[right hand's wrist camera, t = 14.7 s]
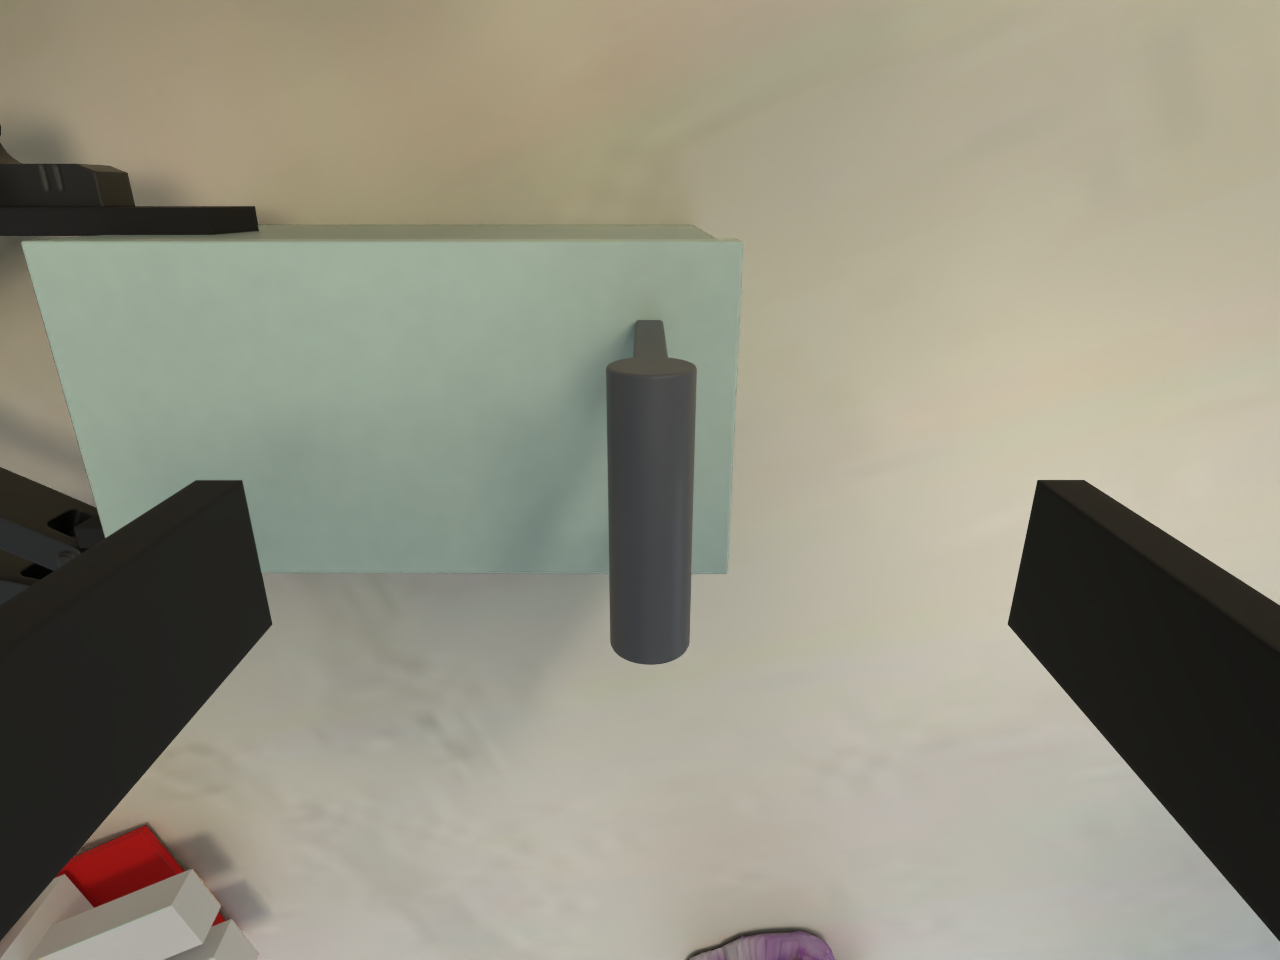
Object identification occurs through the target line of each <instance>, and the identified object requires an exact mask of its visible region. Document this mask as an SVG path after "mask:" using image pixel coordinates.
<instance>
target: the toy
mask: <svg viewBox="0 0 1280 960" xmlns="http://www.w3.org/2000/svg"><path fill="white" fill-rule="evenodd" d="M220 908H221V905H220V903H219V902H218V901H217V899H216V898H215V897H214V896H213V894H212V893H211V892H210V891H209V889H208V888H207V887H206V885H205V884H204V883H203V882H202V880H201V879H200V878H199V877H198V875H197V874H196V873H195V871H194V870H193V869H190V870H187V871H184V870H183V869H182V868H181V867H180V865H179V864H178V863H177V862H176V861H175V859H174V858H173V857H172V856H171V855H170V854H169V852H168V851H167V850H166V849H165V848H164V846H163V845H162V844H161V843H160V842H159V840H158V839H157V838H156V837H155V836H154V834H153V833H152V832H151V831H150V830H149V828H148V827H147V826H146V825H145V826H143V827H140V828H138V829H136V830H134V831H131V832H129V833H127V834H125V835H123V836H120V837H118V838H116V839H114V840H111V841H109V842H107V843H105V844H102V845H100V846H98V847H96V848H93V849H91V850H89V851H87V852H84V853H82V854H80V855H78V856H75V857H73V858H71V859H70V861H69V862H68V863H67V864H66V865H65V866H64V868H63V869H62V870H61V871H60V872H59V873H58V875H57V876H56V877H55V878H54V879H53V880H52V882H51V883H50V884H49V885H48V886H47V887H46V889H45V890H44V891H43V892H42V893H41V894H40V896H39V897H38V898H37V899H36V900H35V901H34V903H33V904H32V905H31V906H30V907H29V908H28V910H27V911H26V912H25V913H24V914H23V915H22V917H21V918H20V919H19V920H18V921H17V922H16V924H15V925H14V926H13V927H12V928H11V929H10V931H9V932H8V933H7V934H6V935H5V936H4V938H3V939H2V940H1V941H0V960H257V958H258V955H259V953H258V952H257V950H256V949H255V948H254V946H253V945H252V944H251V943H250V941H249V940H248V939H247V938H246V936H245V935H244V934H243V933H242V931H241V930H240V929H239V927H238V926H237V925H236V924H235V922H234V921H233V920H232V919H230V920H227V921H226V920H225V919H224V918H223V917H222V915H221V914H220V913H219V910H220Z"/></svg>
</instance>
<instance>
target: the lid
mask: <svg viewBox="0 0 1280 960" xmlns="http://www.w3.org/2000/svg"><path fill="white" fill-rule="evenodd" d="M21 245H22V249H23V252H24V256H25V259H26V263H27V266H28V270H29V273H30V277H31V280H32V284H33V287H34V291H35V294H36V298H37V301H38V305H39V308H40V312H41V315H42V319H43V322H44V326H45V329H46V333H47V336H48V340H49V343H50V347H51V350H52V354H53V357H54V361H55V364H56V368H57V371H58V375H59V378H60V382H61V385H62V389H63V392H64V396H65V399H66V403H67V406H68V410H69V413H70V417H71V420H72V424H73V427H74V431H75V434H76V438H77V441H78V445H79V448H80V451H81V455H82V458H83V462H84V465H85V469H86V472H87V476H88V479H89V483H90V486H91V490H92V493H93V497H94V500H95V504H96V507H97V511H98V514H99V518H100V521H101V525H102V528H103V532H104V535H105V538H106V537H108V536H110V535H111V534H113V533H114V532H116V531H117V530H119V529H120V528H122V527H124V526H125V525H127V524H128V523H130V522H131V521H133V520H135V519H136V518H138V517H139V516H141V515H142V514H144V513H145V512H147V511H149V510H150V509H152V508H153V507H155V506H156V505H158V504H159V503H161V502H163V501H164V500H166V499H167V498H169V497H170V496H172V495H174V494H175V493H177V492H178V491H180V490H181V489H183V488H184V487H186V486H188V485H189V484H191V483H192V482H194V481H195V480H242V481H243V486H244V491H245V495H246V500H247V505H248V510H249V515H250V520H251V524H252V529H253V534H254V539H255V544H256V548H257V553H258V558H259V563H260V568H261V573H565V574H609V581H610V640H611V646H612V648H613V649H614V651H615V652H616V653H617V654H618V655H619V656H620V657H622V658H624V659H626V660H628V661H631V662H634V663H639V664H662V663H666V662H670V661H672V660H675V659H677V658H679V657H680V656H681V655H682V654H684V652H685V651H686V650H687V648H688V646H689V636H690V600H691V574H727V572H728V553H729V532H730V511H731V490H732V469H733V448H734V427H735V406H736V385H737V365H738V344H739V323H740V302H741V281H742V260H743V242H742V241H740V240H738V239H41V240H27V241H22V242H21Z"/></svg>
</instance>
